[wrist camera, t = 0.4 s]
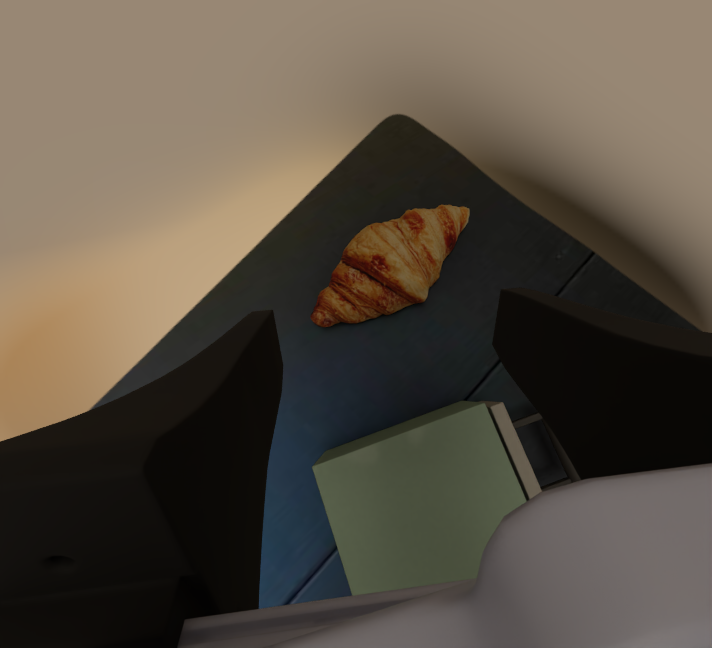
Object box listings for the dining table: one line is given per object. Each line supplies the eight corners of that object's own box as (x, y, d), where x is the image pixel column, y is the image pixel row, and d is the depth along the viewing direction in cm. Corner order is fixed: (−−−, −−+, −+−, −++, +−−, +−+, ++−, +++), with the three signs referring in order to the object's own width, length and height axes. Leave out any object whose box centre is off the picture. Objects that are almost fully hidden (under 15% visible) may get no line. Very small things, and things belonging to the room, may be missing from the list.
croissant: (440, 214, 45) (430, 158, 39) (503, 250, 39) (503, 189, 32) (308, 316, 43) (275, 273, 37) (351, 371, 37) (320, 331, 30)
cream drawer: (526, 384, 36) (556, 382, 30) (576, 494, 34) (619, 516, 28) (350, 449, 36) (345, 460, 30) (389, 564, 34) (392, 602, 28)
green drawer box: (462, 400, 37) (484, 402, 29) (512, 521, 35) (551, 558, 27) (325, 451, 37) (311, 466, 29) (365, 576, 35) (362, 629, 27)
